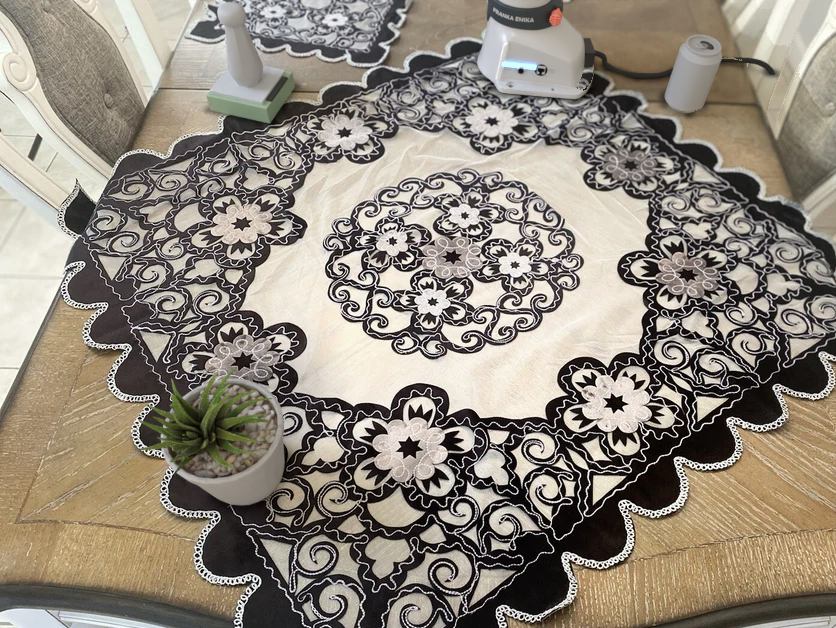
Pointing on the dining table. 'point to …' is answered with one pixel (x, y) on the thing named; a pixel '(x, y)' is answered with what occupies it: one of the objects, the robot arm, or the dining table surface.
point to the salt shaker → (239, 46)
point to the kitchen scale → (252, 95)
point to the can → (693, 73)
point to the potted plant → (225, 439)
